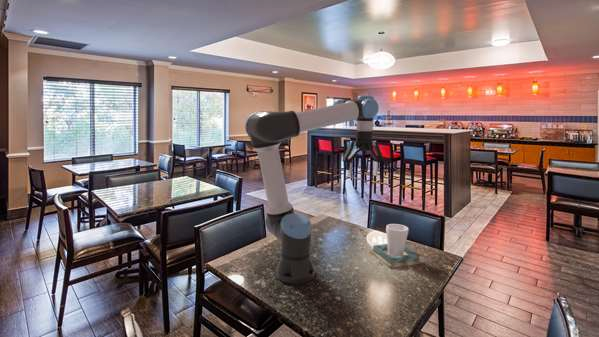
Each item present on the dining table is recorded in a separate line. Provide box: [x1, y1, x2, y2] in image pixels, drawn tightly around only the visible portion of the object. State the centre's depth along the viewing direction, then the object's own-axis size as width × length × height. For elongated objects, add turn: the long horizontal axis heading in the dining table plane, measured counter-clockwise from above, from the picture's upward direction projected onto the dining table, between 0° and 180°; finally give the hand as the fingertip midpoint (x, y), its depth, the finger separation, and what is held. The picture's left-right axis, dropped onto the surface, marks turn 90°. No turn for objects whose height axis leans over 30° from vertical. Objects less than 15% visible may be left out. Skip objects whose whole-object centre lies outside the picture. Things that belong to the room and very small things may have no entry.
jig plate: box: [368, 243, 425, 269], centre depth 147 cm, size 17×17×4 cm
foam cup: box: [385, 223, 410, 257], centre depth 146 cm, size 10×9×13 cm
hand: (362, 176), depth 153 cm, fingers open, 13 cm apart
